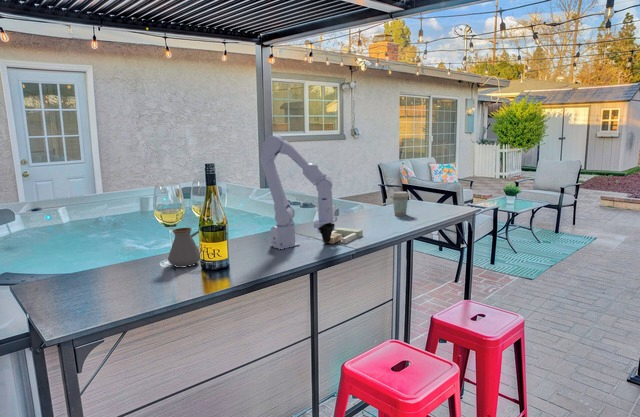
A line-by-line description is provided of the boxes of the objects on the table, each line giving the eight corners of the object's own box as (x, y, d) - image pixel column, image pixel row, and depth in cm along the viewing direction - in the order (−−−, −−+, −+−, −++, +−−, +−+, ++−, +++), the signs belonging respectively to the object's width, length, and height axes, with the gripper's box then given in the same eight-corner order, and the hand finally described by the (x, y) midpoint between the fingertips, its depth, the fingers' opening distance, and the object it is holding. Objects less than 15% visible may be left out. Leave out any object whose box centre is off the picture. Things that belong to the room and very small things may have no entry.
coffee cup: (388, 214, 226) (388, 192, 223) (402, 212, 229) (402, 190, 227) (398, 217, 218) (398, 194, 216) (411, 215, 222) (412, 192, 219)
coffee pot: (175, 272, 145) (170, 229, 142) (164, 264, 154) (159, 223, 151) (232, 258, 158) (229, 219, 155) (219, 252, 167) (216, 214, 164)
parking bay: (346, 243, 172) (346, 237, 172) (321, 240, 178) (321, 234, 178) (362, 235, 184) (362, 229, 184) (338, 232, 190) (338, 227, 190)
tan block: (333, 245, 170) (333, 238, 170) (322, 244, 173) (322, 236, 172) (342, 241, 176) (341, 234, 175) (331, 239, 179) (331, 232, 178)
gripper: (324, 212, 160) (325, 247, 162) (343, 206, 172) (344, 238, 174) (308, 211, 164) (310, 245, 166) (328, 204, 176) (329, 236, 178)
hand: (326, 242), depth 170 cm, fingers closed
